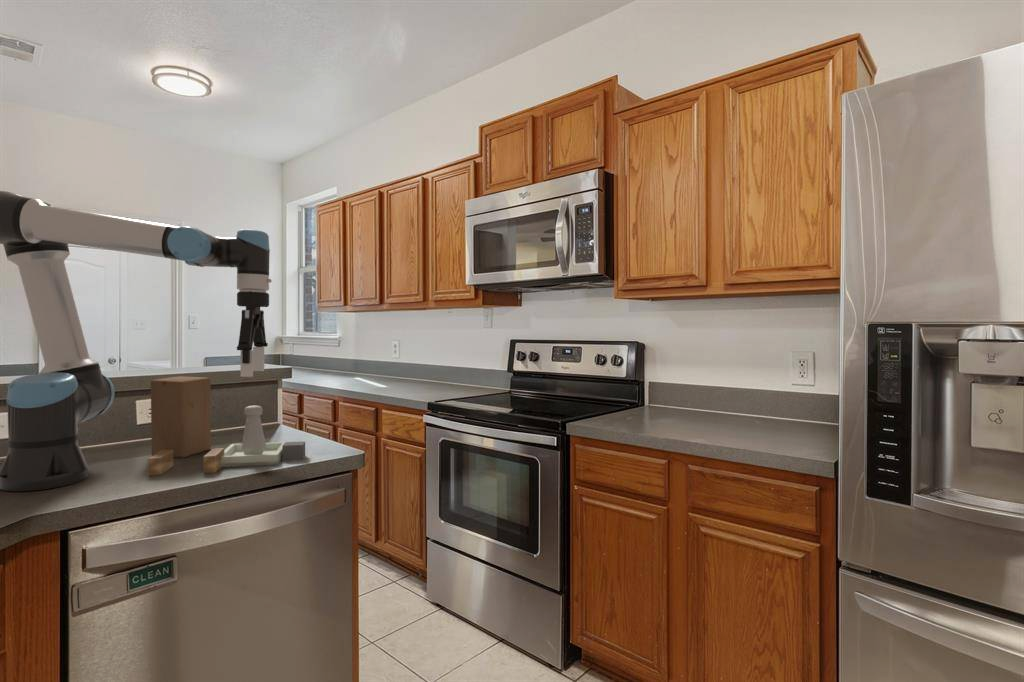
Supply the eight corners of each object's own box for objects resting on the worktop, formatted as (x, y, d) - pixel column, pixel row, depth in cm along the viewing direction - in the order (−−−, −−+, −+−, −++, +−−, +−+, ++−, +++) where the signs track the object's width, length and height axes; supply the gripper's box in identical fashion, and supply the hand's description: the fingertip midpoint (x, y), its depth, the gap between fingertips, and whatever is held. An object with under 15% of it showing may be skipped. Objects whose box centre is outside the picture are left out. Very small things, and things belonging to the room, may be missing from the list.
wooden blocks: (148, 475, 128) (148, 458, 127) (162, 466, 135) (161, 450, 135) (215, 472, 131) (215, 455, 131) (224, 463, 139) (224, 447, 139)
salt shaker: (267, 452, 148) (267, 403, 147) (264, 457, 142) (264, 407, 142) (243, 453, 146) (243, 404, 145) (239, 458, 140) (239, 408, 140)
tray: (216, 467, 136) (216, 457, 135) (231, 453, 149) (231, 443, 149) (277, 464, 139) (277, 454, 139) (286, 451, 152) (286, 442, 152)
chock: (282, 460, 143) (282, 445, 143) (285, 457, 147) (285, 442, 147) (303, 460, 144) (302, 444, 144) (305, 456, 148) (305, 441, 148)
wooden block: (183, 458, 143) (182, 381, 142) (150, 455, 145) (149, 379, 144) (211, 449, 153) (211, 377, 152) (180, 446, 155) (179, 375, 154)
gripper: (258, 290, 131) (258, 379, 132) (277, 293, 155) (277, 368, 156) (223, 288, 129) (223, 379, 130) (248, 292, 153) (248, 368, 154)
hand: (253, 373), depth 143 cm, fingers open, 13 cm apart
